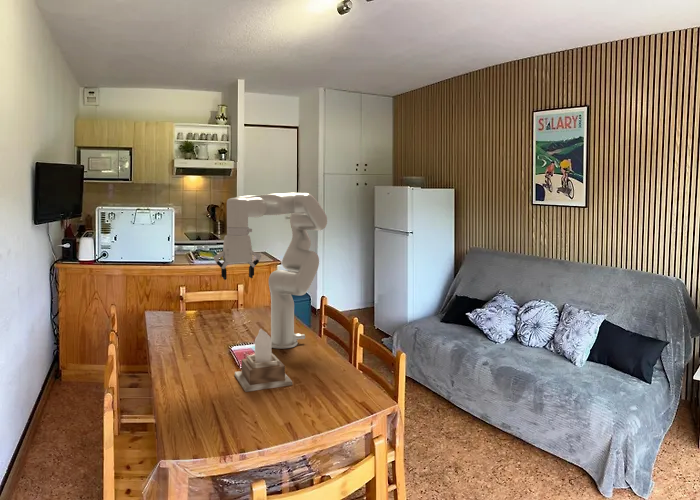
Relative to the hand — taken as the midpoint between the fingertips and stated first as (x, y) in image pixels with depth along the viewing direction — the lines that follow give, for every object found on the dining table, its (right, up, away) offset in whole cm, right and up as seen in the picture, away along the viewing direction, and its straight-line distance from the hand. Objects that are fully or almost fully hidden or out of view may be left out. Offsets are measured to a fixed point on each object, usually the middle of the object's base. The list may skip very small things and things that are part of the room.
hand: (237, 278), depth 195 cm
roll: (+11, -28, -13) cm, 33 cm away
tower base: (+11, -34, -12) cm, 38 cm away
